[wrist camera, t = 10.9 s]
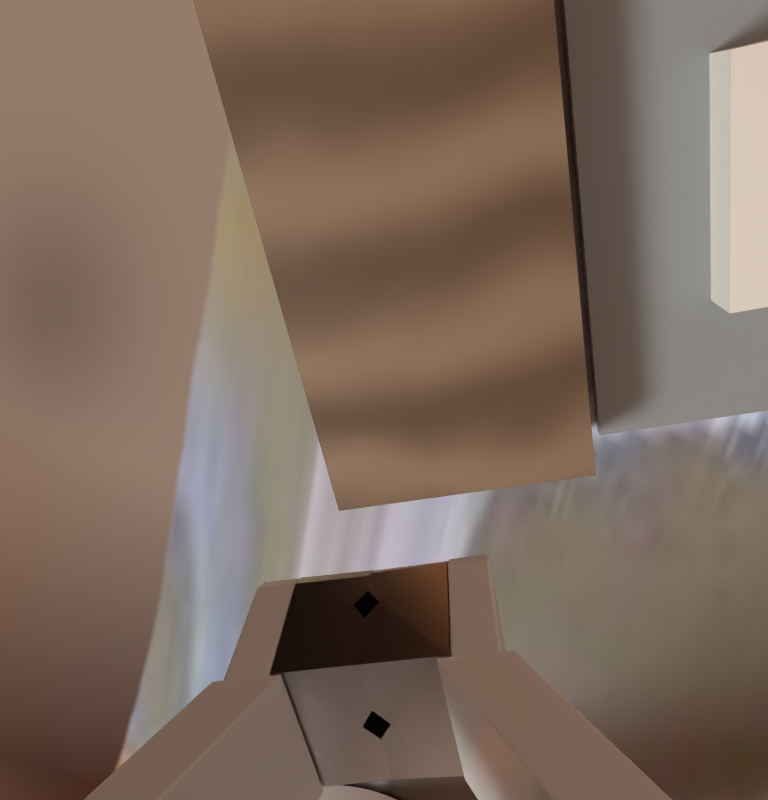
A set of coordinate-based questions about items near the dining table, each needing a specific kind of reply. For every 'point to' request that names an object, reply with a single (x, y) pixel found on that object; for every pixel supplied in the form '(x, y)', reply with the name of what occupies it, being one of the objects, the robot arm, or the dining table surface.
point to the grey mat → (656, 211)
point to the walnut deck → (415, 233)
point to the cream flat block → (739, 177)
